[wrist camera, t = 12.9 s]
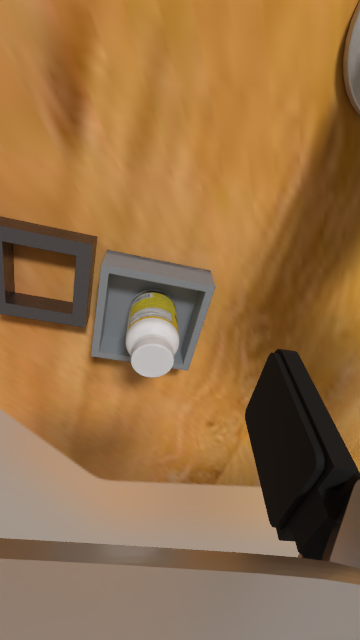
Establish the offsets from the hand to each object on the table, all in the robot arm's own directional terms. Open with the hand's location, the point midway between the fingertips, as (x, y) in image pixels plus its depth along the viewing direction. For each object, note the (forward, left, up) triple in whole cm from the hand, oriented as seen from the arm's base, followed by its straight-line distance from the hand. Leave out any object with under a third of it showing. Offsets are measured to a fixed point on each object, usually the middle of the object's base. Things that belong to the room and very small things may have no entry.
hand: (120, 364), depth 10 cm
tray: (-2, +12, -26) cm, 29 cm away
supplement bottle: (-3, +12, -25) cm, 28 cm away
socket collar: (+10, +10, -26) cm, 29 cm away
